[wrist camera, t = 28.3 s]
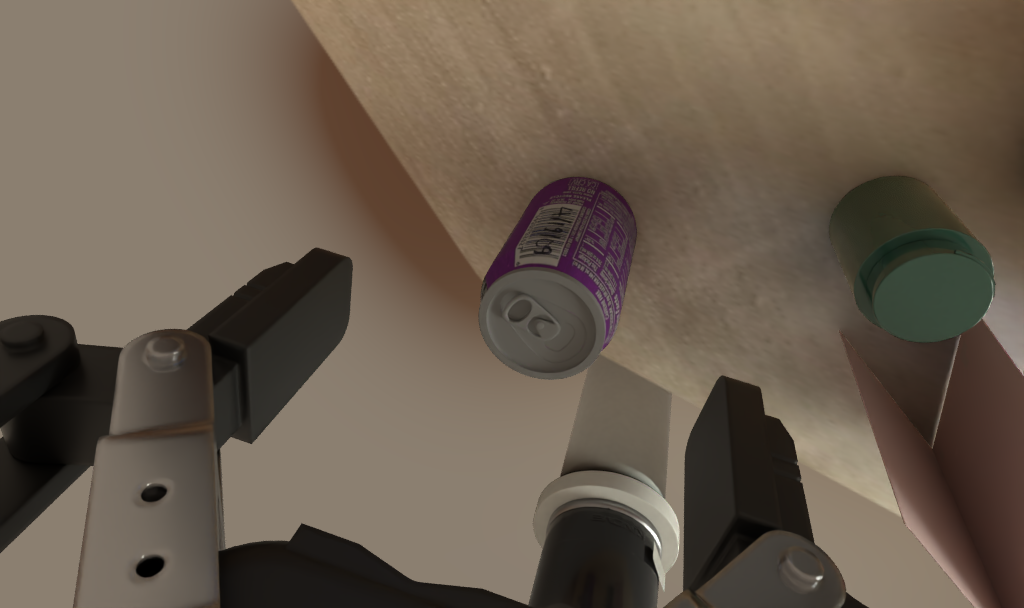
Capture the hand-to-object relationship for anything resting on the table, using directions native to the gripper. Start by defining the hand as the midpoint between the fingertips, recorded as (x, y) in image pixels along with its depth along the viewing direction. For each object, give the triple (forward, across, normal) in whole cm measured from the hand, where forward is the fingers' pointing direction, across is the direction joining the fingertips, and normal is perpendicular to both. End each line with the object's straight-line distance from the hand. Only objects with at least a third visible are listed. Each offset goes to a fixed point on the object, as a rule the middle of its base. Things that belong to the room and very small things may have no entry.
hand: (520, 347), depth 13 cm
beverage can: (+26, 0, +9) cm, 27 cm away
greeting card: (+26, -22, +12) cm, 36 cm away
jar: (+25, -16, +3) cm, 30 cm away
